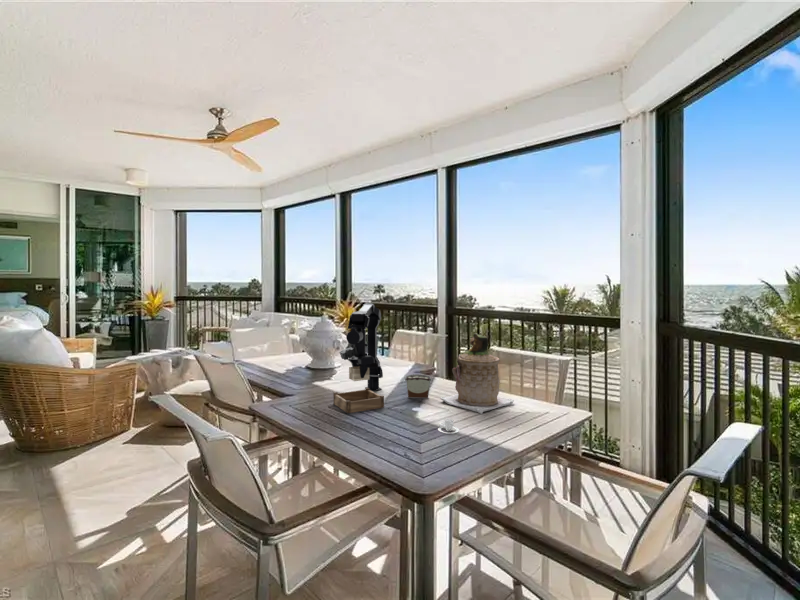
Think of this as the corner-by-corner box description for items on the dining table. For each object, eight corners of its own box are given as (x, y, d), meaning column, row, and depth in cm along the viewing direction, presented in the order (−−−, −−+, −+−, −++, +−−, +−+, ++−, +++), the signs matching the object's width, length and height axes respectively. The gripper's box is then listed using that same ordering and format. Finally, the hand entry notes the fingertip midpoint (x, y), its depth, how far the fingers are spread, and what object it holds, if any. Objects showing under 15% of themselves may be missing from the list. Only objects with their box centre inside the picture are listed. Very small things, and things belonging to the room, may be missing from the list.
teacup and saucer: (437, 426, 169) (437, 415, 169) (458, 426, 169) (458, 416, 169) (438, 434, 161) (438, 423, 160) (460, 435, 160) (460, 423, 160)
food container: (431, 395, 212) (431, 374, 212) (431, 398, 206) (431, 377, 206) (406, 394, 214) (406, 373, 213) (404, 397, 208) (404, 376, 207)
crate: (333, 403, 197) (333, 392, 197) (368, 398, 206) (368, 387, 206) (347, 413, 184) (347, 401, 183) (384, 407, 192) (384, 396, 192)
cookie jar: (516, 404, 198) (517, 332, 197) (481, 415, 182) (482, 337, 180) (472, 392, 217) (473, 327, 215) (437, 402, 201) (438, 331, 199)
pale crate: (349, 378, 195) (349, 367, 195) (363, 376, 199) (363, 365, 198) (354, 381, 190) (354, 369, 190) (369, 379, 193) (369, 368, 193)
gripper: (333, 339, 198) (333, 374, 198) (350, 345, 181) (350, 383, 182) (356, 338, 203) (356, 372, 204) (375, 343, 187) (375, 380, 188)
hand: (359, 376), depth 194 cm, fingers closed on pale crate, 6 cm apart
